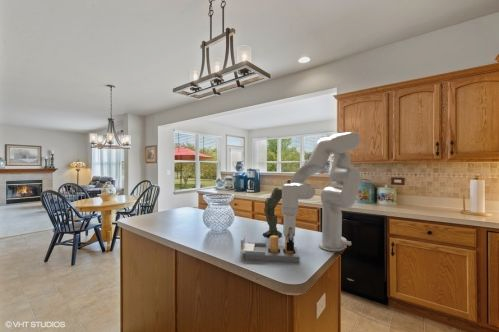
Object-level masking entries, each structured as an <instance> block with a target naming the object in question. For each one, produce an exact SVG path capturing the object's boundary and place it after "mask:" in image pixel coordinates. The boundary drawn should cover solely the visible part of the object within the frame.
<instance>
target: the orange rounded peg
mask: <svg viewBox="0 0 499 332" xmlns="http://www.w3.org/2000/svg"><path fill="white" fill-rule="evenodd" d="M284 247H285V253H287V254H294V251H287V236H286V237H285V236H284Z"/></svg>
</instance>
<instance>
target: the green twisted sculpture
mask: <svg viewBox="0 0 499 332" xmlns="http://www.w3.org/2000/svg"><path fill="white" fill-rule="evenodd" d="M280 201H282V188H279V187H275V188H273V190H272V192H271V194H270V197H266V200H265V201H264V208H263V211H264V214H265V218H266V223H267V225H268V230H267V231H266V232H263V233H262V236H263V237H264V238H265V237H267V238H270V236H273V235H275V236H278V238H280V237H283V233H282V232H281V231H280V230H278V227H277V226H278V216H277V215H275V208H276V207H277V205H278V204H279V202H280Z"/></svg>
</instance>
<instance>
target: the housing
mask: <svg viewBox="0 0 499 332" xmlns="http://www.w3.org/2000/svg"><path fill="white" fill-rule="evenodd" d="M247 243H250V244H255V247H254V251H245V253H244V255H245V257H244V258H245V261H261V262H263V261H265V262H281V263H283V262H285V263H300V254H299V251H298V248H297V246H294V254H287V253H285V246H280V245H278V253H270V245H267V242H257V241H256V242H255V241H254V242H253V241H252V242H250V241H249V242H247Z"/></svg>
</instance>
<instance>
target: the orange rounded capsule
mask: <svg viewBox="0 0 499 332" xmlns="http://www.w3.org/2000/svg"><path fill="white" fill-rule="evenodd" d="M269 246H270V253H278V246H279V237H278V236H275V235H273V236H270V237H269Z"/></svg>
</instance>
